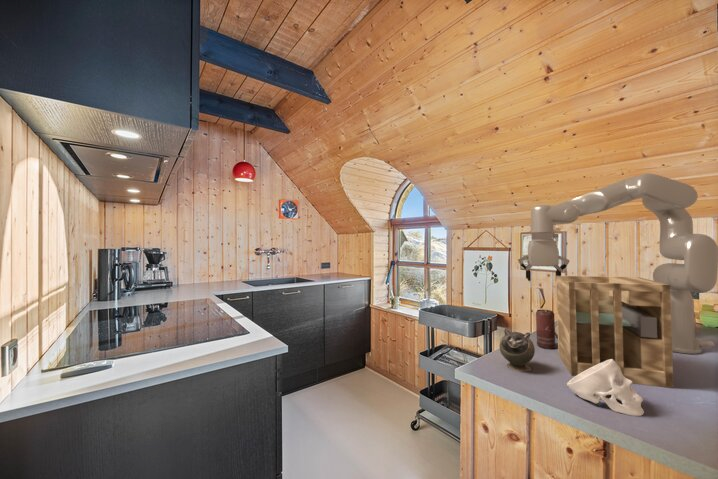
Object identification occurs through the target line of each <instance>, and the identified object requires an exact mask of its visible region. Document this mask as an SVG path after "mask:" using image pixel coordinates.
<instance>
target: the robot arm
mask: <svg viewBox="0 0 718 479" xmlns="http://www.w3.org/2000/svg"><path fill="white" fill-rule="evenodd" d="M698 196H699V194H698V191H697V190H696V189H695V188H694V187H693V186H692V185H689V183H688V184H687V183H685V182H682V181H678V180H675V179H673V178H669V177H666V176H662V175H659V174H655V173H643V174H639V175H635V176H631V177H627V178H625V179H622V180H619V181H617V182H614V183H611V184H608V185H606V186H603V187H600V188H598V189H595V190H593V191H590V192H587V193H585V194H582V195H580V196H577V197H574V198H571V199H569V200H566V201H564V202H561V203H558V204H556V205H549V204H548V205H545V204H542V205H535V206H533V207H532V208H531V210H530V216H531V217H530V222H531V226H530V227H531V233H530V234H531V235H530V236H531V238H530V239H531V240H529V241H528V247H527V255H524V256H522V257H520V258H518V259H517V261H518V264H519V265H520V266H521V268H523V269H524V270H525V279H527V281H528V282H531V278H532V277H531V273H532V272H531V268H533V267H554V268H555V269H556V270H555V277H556V276H562V272H563V270H565V269H566V268H567V266H568V265H569V263H570V259H568V258H566V257H563V256H561V255H559V251H558V250H559V248H558V244H557V240H555V239H556V238H559V233H555V230H554V229H555V226H557V225H565V224H566V225H568V224H571V223H574V222H576V221H577V220H579V217H582V216H585V215H592V214H597V213H600V212H605V211H607V210H610V209H612V208H615V207H618V206H621V205H625V204H627V203H630V202H632V201H635V200H636V201H637V200H639V199H641V203H642V205H643V206H644V208H645V209H647V210H649V211H650V212H652V213H653V214H654V215H655V216H656V217H657V219H658V221H659V253H660V254H661V256H662V257H664V258H665V259H668V260H669V259H670V260H674V261H675V260H677V261H684V262H683V263H675V262H668V263H662V264H660V265H658V266H657V267H655V268H654V269H653V272H652V281H656V282H660V283H664V284H668V285H670V299H671V330H672V353H680V354H687V355H688V354H689V355H697V354H701V353H702V352H703V349H702V347H708V348H714V347H715V343H714V341H713V340H712V341H711V340H710V341H709V340H704V339H700V338H697V337H696V327H695V326H696V325H695V324H696V323H695V319H694V313H695V302H694V298H693V296H692V293H695V294H696V293H698V294H702V293H703V294H704V293H708V292H710V291H711V290H713V289H714V288H715V286H716V284H717V281H718V244H717V243H716V241H715V239H713V238H712V237H711V236H709V235H707V234H702V233H694V223H693V218H692V215H691V214H690V213H689V211H688V210H687V208H689V207H691V206H693V205H695V204H696V203H697V201H698V198H699V197H698ZM554 225H555V226H554ZM525 260H527V265H525V263H524V261H525ZM560 261H562V262H563V263H562V264H561V265H559V264H560Z"/></svg>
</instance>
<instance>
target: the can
mask: <svg viewBox="0 0 718 479" xmlns="http://www.w3.org/2000/svg"><path fill="white" fill-rule="evenodd" d="M535 322H536V323H535V325H536V345H537V346H538V348H541V349H544V350H554V349H555V348H556V336H555V327H556V326H555V325H556V322H555V313H554V311H553V310H549V309H546V308H545V309H536V311H535Z"/></svg>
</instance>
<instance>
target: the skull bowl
mask: <svg viewBox="0 0 718 479" xmlns="http://www.w3.org/2000/svg"><path fill="white" fill-rule="evenodd" d="M632 384H633V383H632V381H631V380H629V379H627V378H625V377H624V376H623V374H622V372H621V369H620V367H619V366H618V365H617V363H616V362H615V361H614V360H613V359H609V360H606V361H604V362H602V363H599V364H597V365H595V366H593V367H591V368H589V369H587V370H585V371H583V372H582V373H580V374H578V375H577V376H573V377H572V378H571V379H570V380H569V381H567V382H566V385H567V386H568V388H569V389H570V390H571V392H573V393H574V394H575V395H577V397H580V398H581V399H583V400H586V401H590V402H591V403H594V404H599V403H600V401H603V402H605V404H606V405H607V407H609V408H610V409H611V410H612V411H613V412H615V413H619V414H620V413H621V414H623V415H627V416H633V417H641V416H643V415H644V413H645V411H644V409H643V408H642V406H641V405H642V402H643V401H644V399H643V397H642V396H641V395H640V394H639V393H637V392H636V391H635V389H633V387H632ZM609 395H611V397H609V398H608V397H607V396H609ZM618 400H619V401H620V402H621V403H620V402H618Z"/></svg>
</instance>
